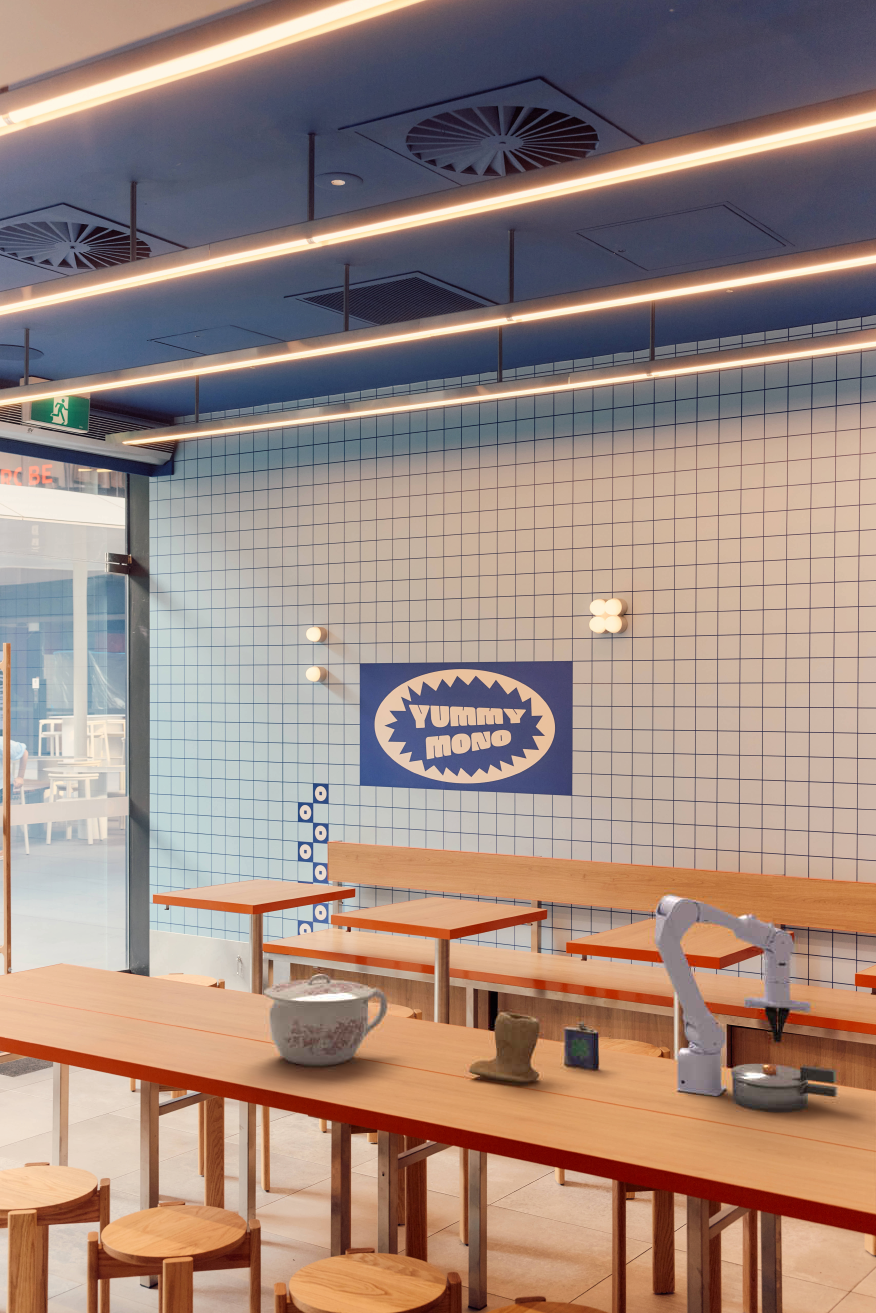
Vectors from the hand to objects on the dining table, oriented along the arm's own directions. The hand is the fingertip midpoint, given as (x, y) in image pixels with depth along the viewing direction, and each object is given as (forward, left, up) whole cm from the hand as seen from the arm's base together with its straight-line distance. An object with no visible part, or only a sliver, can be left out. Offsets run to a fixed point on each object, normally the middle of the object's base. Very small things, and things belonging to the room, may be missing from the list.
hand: (777, 1041), depth 280 cm
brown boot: (-57, -24, -11) cm, 63 cm away
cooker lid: (+4, -13, -5) cm, 15 cm away
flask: (-46, -5, -11) cm, 47 cm away
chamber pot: (-105, -32, -11) cm, 110 cm away
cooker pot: (+4, -13, -10) cm, 17 cm away
